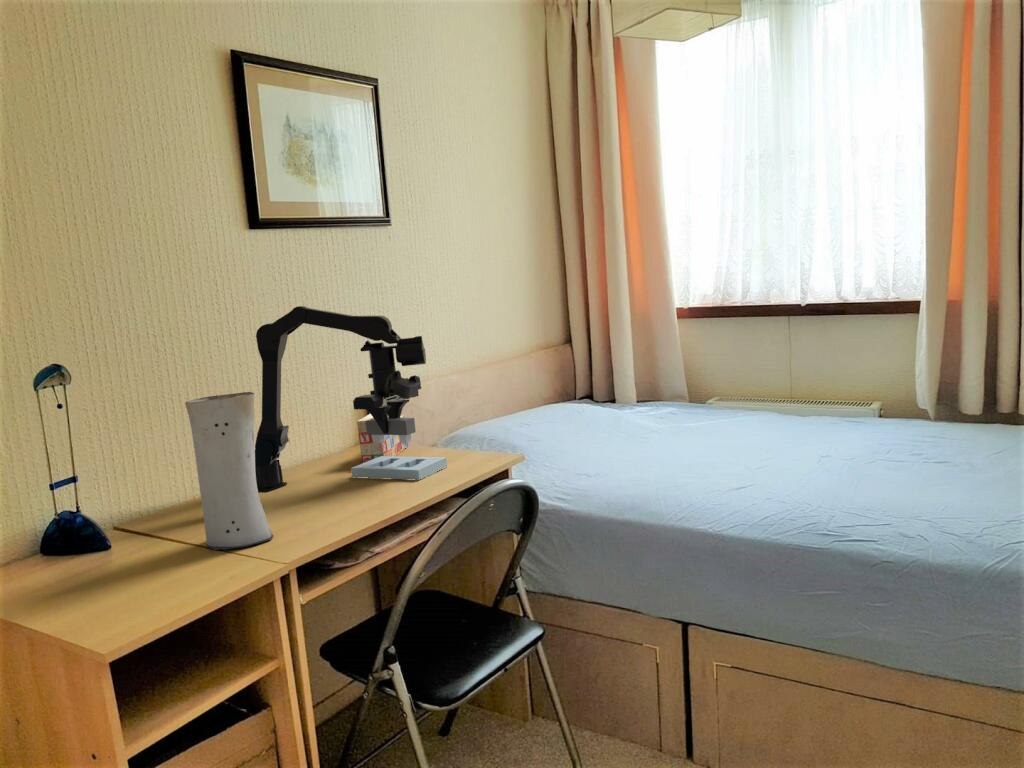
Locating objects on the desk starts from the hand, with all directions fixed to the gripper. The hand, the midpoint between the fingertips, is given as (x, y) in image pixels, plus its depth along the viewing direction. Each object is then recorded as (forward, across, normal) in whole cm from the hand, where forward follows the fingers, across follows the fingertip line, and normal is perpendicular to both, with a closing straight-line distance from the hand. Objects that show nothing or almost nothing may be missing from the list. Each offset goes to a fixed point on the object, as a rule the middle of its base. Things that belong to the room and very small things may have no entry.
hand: (390, 432), depth 189 cm
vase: (+11, -47, +1) cm, 49 cm away
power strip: (+2, 0, 0) cm, 3 cm away
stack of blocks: (+11, +18, +16) cm, 26 cm away
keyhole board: (+10, +2, 0) cm, 11 cm away
